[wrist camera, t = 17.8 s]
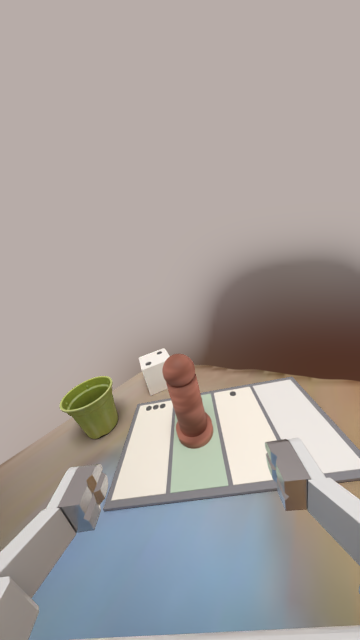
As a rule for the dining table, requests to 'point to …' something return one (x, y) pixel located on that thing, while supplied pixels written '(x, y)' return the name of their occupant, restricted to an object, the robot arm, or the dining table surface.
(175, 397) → the pawn
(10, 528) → the dining table surface
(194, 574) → the dining table surface
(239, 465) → the game board
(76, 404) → the plant pot
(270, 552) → the dining table surface
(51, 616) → the dining table surface
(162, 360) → the die
